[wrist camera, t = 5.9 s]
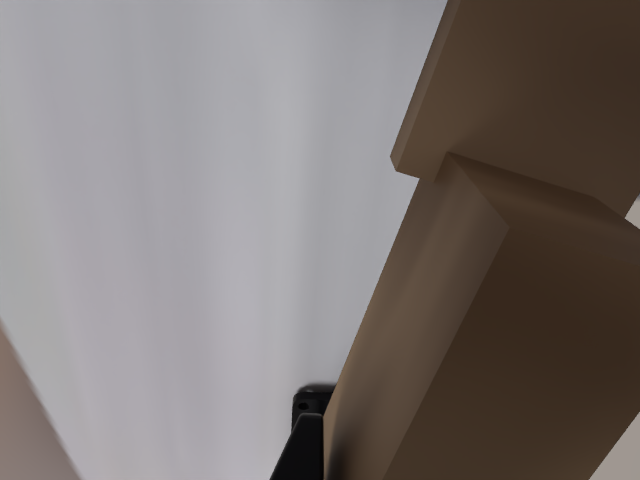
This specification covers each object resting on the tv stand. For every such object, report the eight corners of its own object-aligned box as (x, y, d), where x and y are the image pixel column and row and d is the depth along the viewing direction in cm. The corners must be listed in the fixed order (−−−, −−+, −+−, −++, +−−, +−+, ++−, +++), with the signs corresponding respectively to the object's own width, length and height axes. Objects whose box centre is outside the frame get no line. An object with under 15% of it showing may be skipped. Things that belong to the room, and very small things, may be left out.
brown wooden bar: (343, 647, 14) (348, 841, 11) (216, 622, 14) (181, 816, 10) (783, -122, 7) (1230, -251, 3) (531, -224, 6) (759, -486, 3)
